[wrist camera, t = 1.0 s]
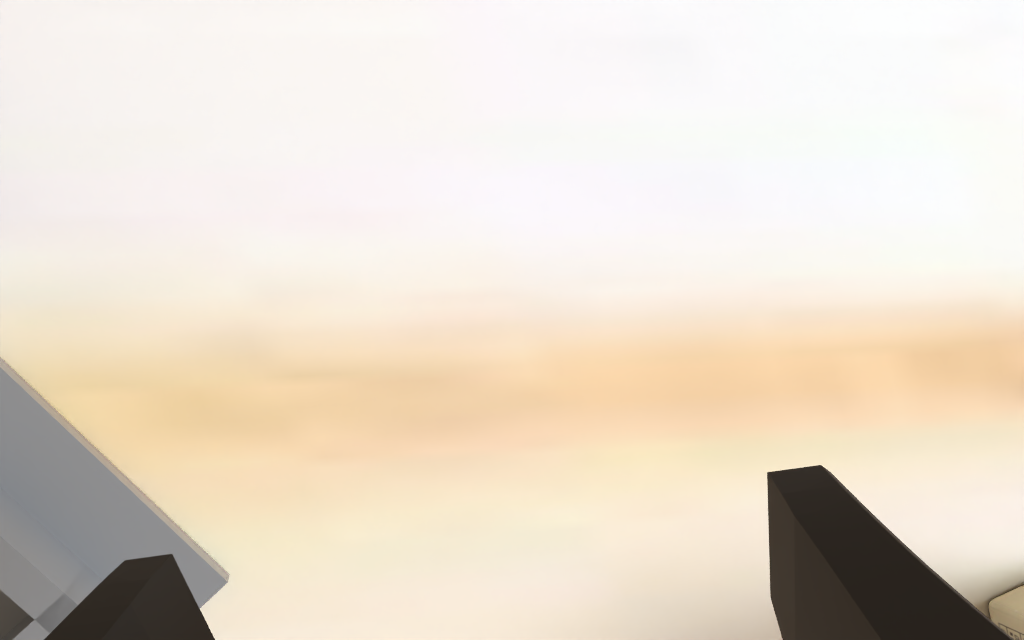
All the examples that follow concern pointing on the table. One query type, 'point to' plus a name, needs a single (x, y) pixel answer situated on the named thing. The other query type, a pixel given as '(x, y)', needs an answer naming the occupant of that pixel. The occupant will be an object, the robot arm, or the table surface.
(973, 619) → the robot arm
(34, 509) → the stand
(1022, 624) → the skincare box
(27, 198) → the table surface
